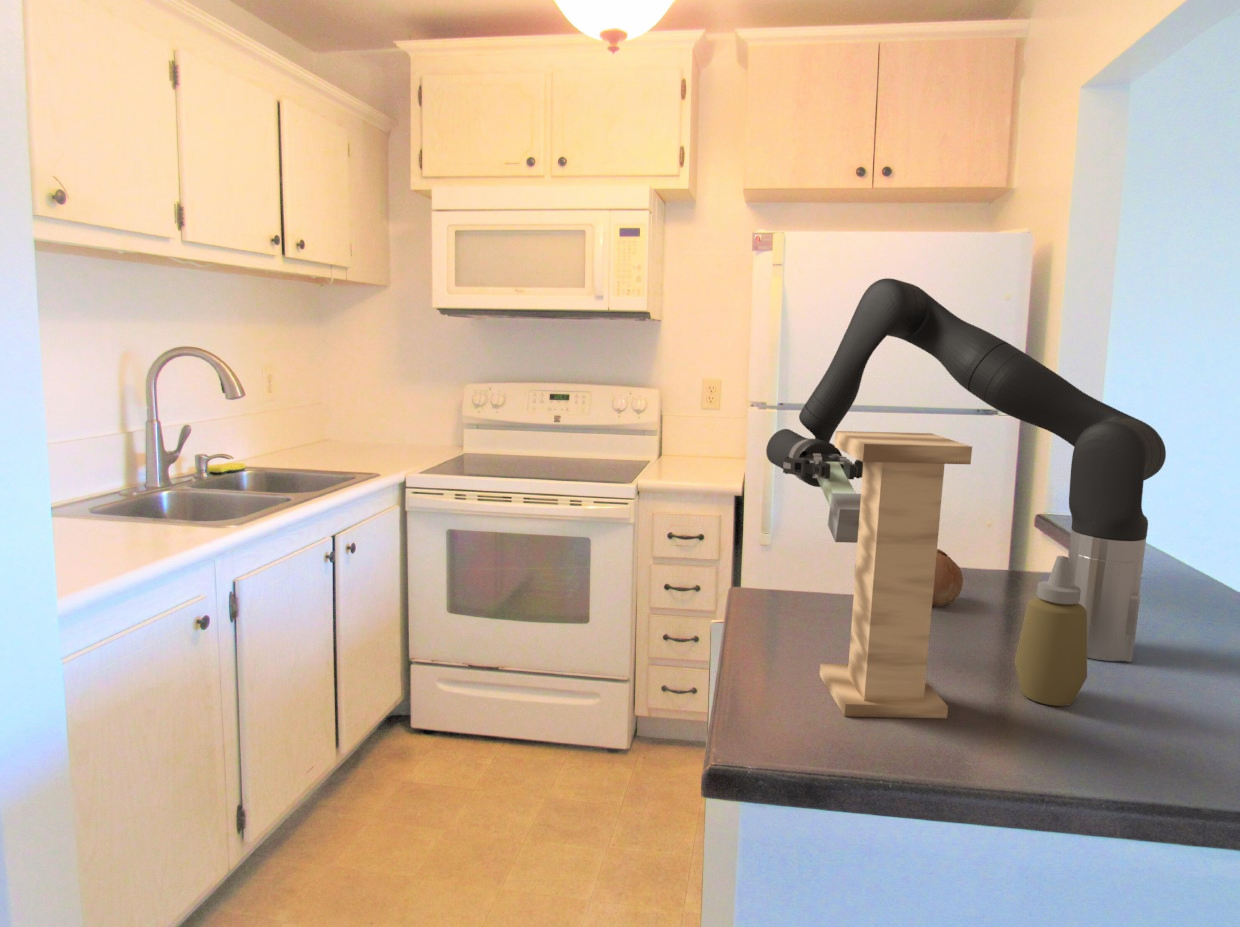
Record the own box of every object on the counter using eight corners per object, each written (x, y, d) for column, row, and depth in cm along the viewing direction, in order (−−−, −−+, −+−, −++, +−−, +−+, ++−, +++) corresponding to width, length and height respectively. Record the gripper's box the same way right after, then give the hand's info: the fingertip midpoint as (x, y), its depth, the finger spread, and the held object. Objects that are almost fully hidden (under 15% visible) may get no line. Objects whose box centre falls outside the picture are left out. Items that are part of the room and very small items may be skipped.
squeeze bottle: (1081, 717, 99) (1098, 570, 97) (1006, 700, 104) (1021, 558, 101) (1085, 693, 106) (1102, 555, 103) (1015, 678, 110) (1029, 545, 108)
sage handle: (809, 484, 132) (813, 455, 130) (841, 485, 132) (845, 456, 130) (835, 542, 115) (839, 509, 113) (872, 543, 115) (877, 510, 113)
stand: (819, 674, 110) (835, 430, 105) (910, 676, 110) (931, 433, 105) (844, 716, 98) (864, 443, 93) (946, 718, 98) (972, 446, 93)
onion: (929, 613, 145) (941, 558, 147) (969, 616, 136) (981, 557, 138) (885, 597, 142) (897, 540, 144) (923, 599, 133) (936, 538, 136)
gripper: (772, 438, 140) (792, 445, 123) (857, 440, 140) (889, 447, 123) (771, 483, 141) (790, 496, 123) (855, 485, 140) (887, 498, 123)
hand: (840, 471), depth 123 cm, fingers closed on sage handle, 3 cm apart
